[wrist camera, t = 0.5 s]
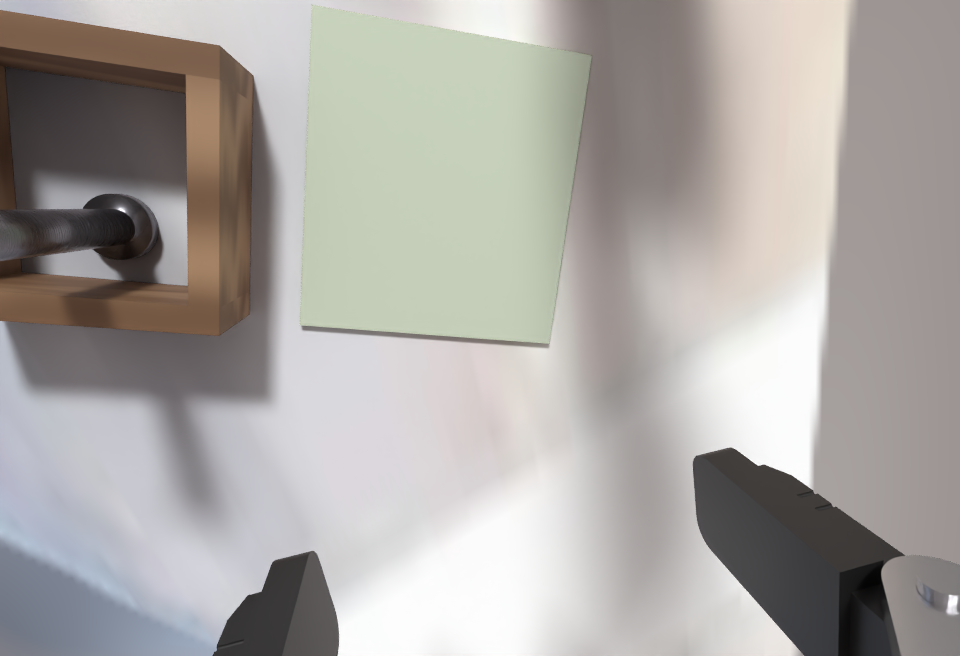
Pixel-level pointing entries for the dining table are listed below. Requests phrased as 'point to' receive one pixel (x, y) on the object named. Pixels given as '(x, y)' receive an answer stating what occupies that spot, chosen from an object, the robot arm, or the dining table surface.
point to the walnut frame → (210, 178)
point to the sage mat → (436, 178)
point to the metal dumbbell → (80, 229)
